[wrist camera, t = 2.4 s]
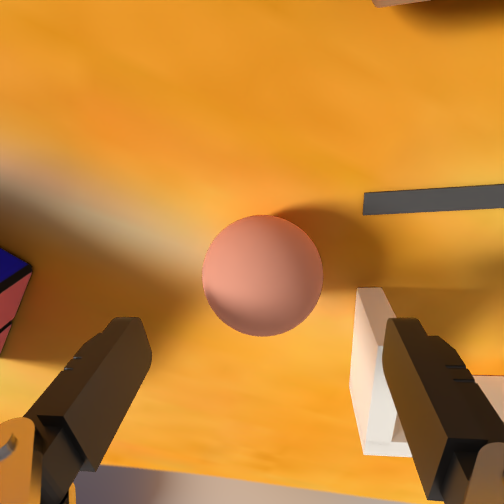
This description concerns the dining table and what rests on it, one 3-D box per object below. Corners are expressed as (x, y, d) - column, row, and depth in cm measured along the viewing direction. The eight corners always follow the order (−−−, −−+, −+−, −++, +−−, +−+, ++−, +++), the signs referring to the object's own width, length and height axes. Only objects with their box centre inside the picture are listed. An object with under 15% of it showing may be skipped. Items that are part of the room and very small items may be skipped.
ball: (208, 202, 14) (172, 252, 10) (317, 195, 13) (333, 245, 9) (223, 290, 16) (200, 363, 12) (317, 288, 16) (329, 365, 11)
